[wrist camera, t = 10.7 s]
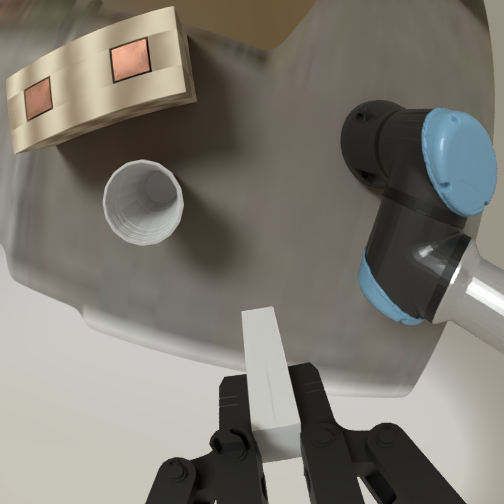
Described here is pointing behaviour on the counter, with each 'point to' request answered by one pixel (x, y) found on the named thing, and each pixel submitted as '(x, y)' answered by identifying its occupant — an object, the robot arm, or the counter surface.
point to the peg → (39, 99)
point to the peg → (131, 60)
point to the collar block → (102, 81)
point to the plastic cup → (143, 202)
